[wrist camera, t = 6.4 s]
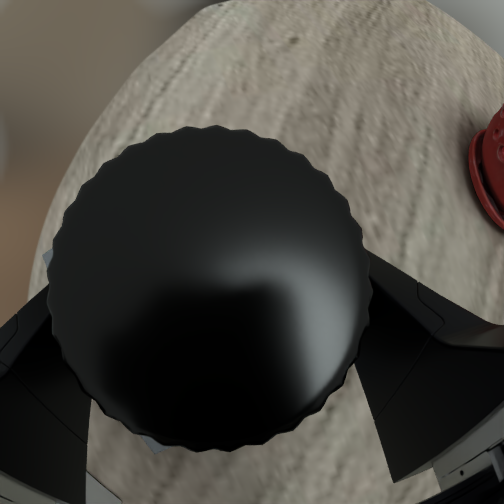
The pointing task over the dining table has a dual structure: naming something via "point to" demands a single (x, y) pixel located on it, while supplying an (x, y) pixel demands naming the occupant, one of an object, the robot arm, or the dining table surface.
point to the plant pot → (489, 167)
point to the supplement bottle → (209, 288)
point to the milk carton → (98, 493)
